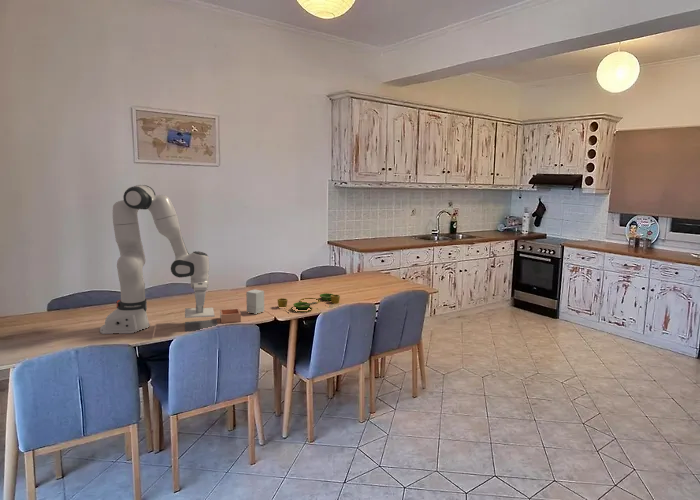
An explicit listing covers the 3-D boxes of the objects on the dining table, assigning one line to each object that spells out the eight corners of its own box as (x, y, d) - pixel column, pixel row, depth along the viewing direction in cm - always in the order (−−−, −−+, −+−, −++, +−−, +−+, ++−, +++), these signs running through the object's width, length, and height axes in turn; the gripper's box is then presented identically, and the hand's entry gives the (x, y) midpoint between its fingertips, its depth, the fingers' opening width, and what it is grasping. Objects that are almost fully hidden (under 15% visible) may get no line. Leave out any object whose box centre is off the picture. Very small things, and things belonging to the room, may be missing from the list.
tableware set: (288, 316, 262) (288, 305, 261) (270, 304, 285) (270, 294, 284) (351, 307, 283) (351, 297, 282) (329, 297, 306) (329, 287, 305)
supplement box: (264, 312, 266) (264, 290, 264) (255, 315, 260) (255, 293, 258) (255, 310, 270) (254, 289, 268) (246, 313, 264) (246, 291, 262)
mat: (184, 332, 228) (184, 331, 228) (185, 322, 243) (185, 321, 243) (218, 329, 233) (218, 329, 233) (216, 320, 248) (216, 319, 248)
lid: (185, 317, 228) (185, 309, 228) (185, 309, 241) (185, 301, 241) (214, 316, 233) (214, 308, 232) (213, 309, 246) (213, 301, 245)
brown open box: (221, 324, 242) (221, 315, 242) (220, 318, 252) (219, 309, 251) (240, 322, 246) (240, 313, 245) (238, 317, 255) (238, 308, 254)
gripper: (193, 279, 243) (192, 304, 245) (193, 288, 224) (193, 315, 226) (205, 279, 245) (205, 304, 247) (207, 287, 226) (206, 315, 228)
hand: (199, 309), depth 237 cm, fingers closed on lid, 3 cm apart
